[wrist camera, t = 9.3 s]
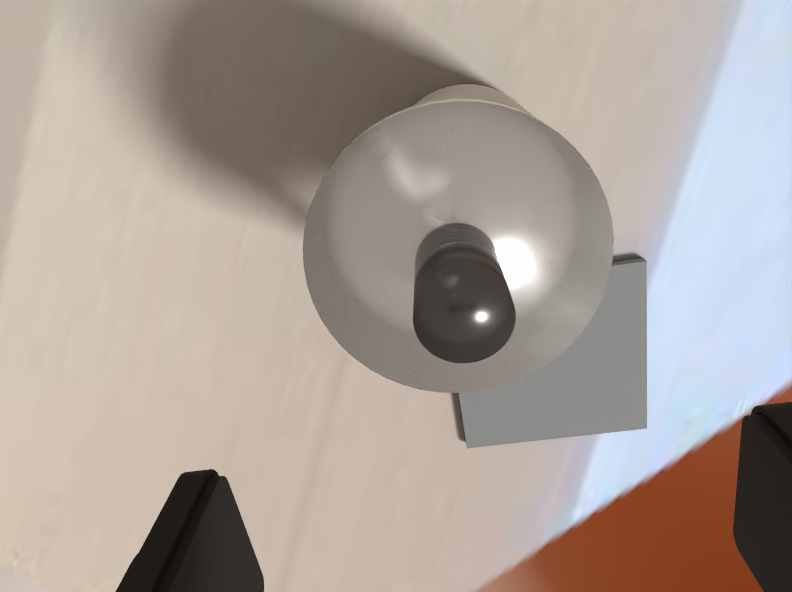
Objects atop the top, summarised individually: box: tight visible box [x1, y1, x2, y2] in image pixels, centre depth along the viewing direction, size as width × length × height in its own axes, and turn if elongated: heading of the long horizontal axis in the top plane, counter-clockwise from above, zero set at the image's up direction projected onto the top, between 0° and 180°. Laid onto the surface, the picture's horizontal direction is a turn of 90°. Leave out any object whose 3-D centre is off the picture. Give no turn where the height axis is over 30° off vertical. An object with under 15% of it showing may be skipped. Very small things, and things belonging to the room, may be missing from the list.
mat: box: [459, 258, 647, 448], centre depth 38 cm, size 12×12×1 cm
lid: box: [303, 98, 614, 393], centre depth 21 cm, size 12×12×6 cm
